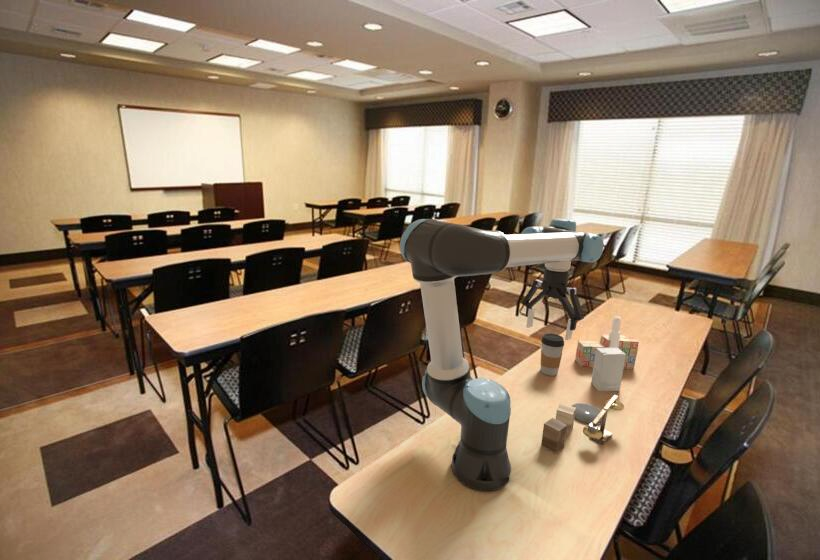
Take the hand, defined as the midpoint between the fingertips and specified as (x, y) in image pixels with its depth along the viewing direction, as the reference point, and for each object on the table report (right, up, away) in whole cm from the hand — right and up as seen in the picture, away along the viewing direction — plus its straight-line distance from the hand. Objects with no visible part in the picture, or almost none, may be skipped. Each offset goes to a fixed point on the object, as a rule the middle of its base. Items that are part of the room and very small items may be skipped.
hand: (548, 332), depth 132 cm
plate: (+12, -26, -2) cm, 29 cm away
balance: (+11, -29, -13) cm, 34 cm away
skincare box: (+26, -22, +16) cm, 38 cm away
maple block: (+1, -28, -9) cm, 29 cm away
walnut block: (-5, -30, -17) cm, 35 cm away
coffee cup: (+9, -19, +26) cm, 34 cm away
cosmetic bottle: (+35, -19, +32) cm, 51 cm away
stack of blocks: (+34, -18, +34) cm, 51 cm away
